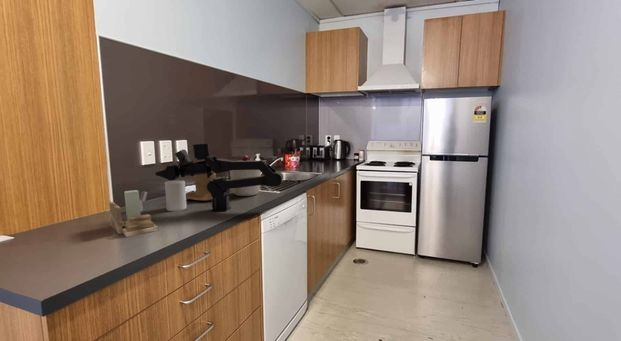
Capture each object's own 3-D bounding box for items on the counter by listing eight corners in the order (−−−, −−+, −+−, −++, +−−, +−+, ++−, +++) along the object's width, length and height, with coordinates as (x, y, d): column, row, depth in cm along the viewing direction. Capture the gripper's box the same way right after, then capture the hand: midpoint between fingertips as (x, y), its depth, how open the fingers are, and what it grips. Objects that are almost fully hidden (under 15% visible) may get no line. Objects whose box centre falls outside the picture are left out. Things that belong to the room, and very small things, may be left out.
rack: (144, 220, 123) (143, 197, 122) (158, 230, 110) (156, 205, 109) (111, 226, 116) (109, 202, 114) (122, 237, 103) (119, 210, 102)
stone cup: (222, 198, 160) (220, 169, 158) (205, 203, 149) (203, 172, 147) (199, 196, 166) (198, 167, 164) (181, 200, 156) (179, 170, 154)
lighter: (134, 212, 134) (133, 194, 133) (131, 212, 135) (130, 193, 134) (148, 208, 141) (147, 191, 140) (146, 208, 141) (144, 190, 140)
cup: (189, 206, 144) (188, 180, 143) (180, 210, 136) (179, 183, 135) (172, 206, 145) (171, 180, 144) (163, 210, 137) (160, 183, 135)
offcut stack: (150, 224, 113) (150, 213, 113) (154, 226, 110) (153, 215, 110) (125, 229, 108) (124, 217, 108) (128, 232, 105) (127, 220, 105)
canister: (237, 190, 180) (236, 153, 177) (268, 191, 176) (267, 153, 173) (222, 197, 162) (220, 156, 159) (256, 198, 159) (254, 156, 156)
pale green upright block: (139, 224, 118) (136, 190, 116) (141, 226, 116) (138, 191, 114) (127, 226, 115) (124, 191, 113) (129, 228, 113) (126, 192, 111)
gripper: (201, 148, 144) (167, 152, 144) (184, 151, 125) (145, 155, 126) (205, 172, 145) (172, 176, 146) (188, 178, 127) (151, 183, 127)
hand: (160, 172), depth 136 cm, fingers open, 9 cm apart
